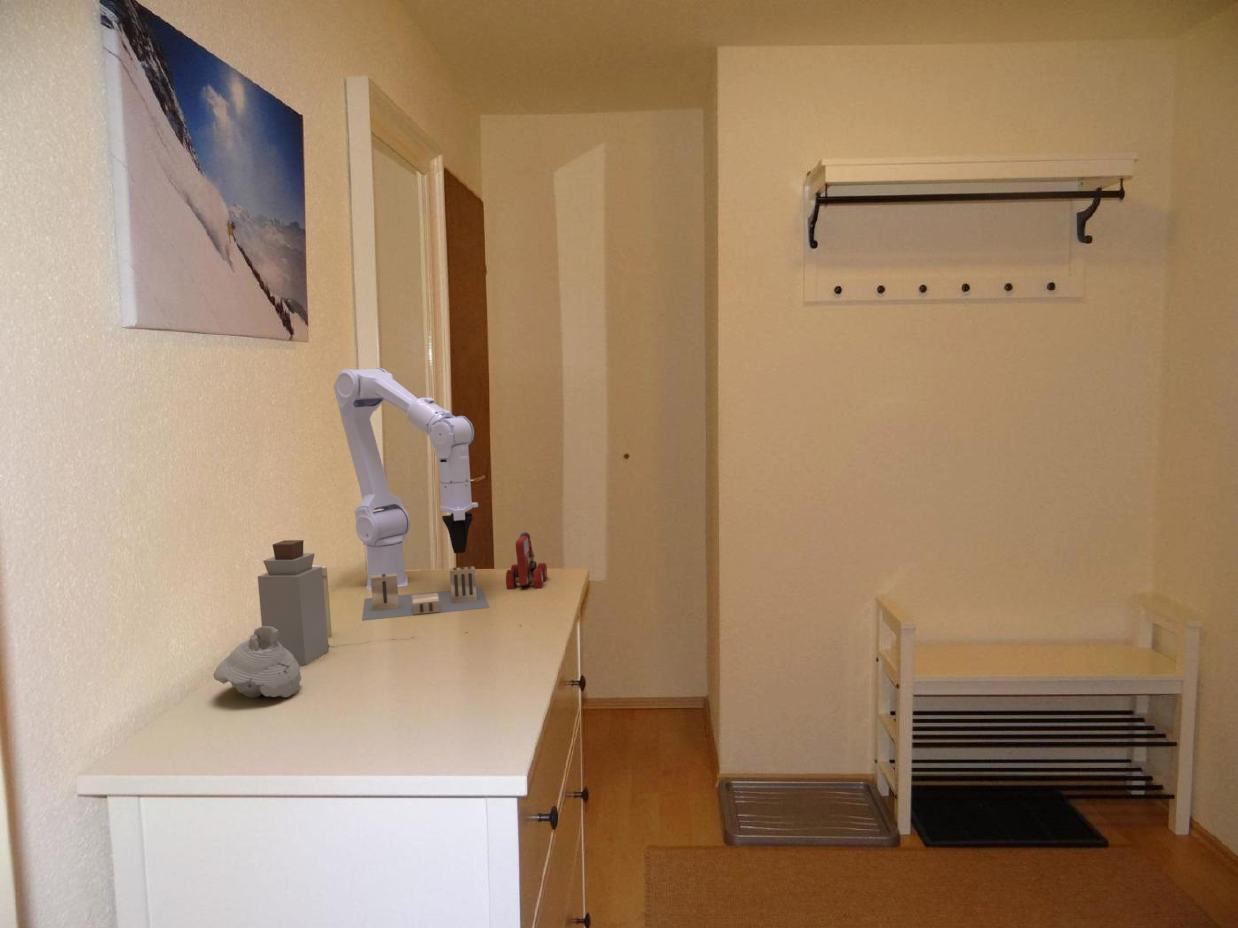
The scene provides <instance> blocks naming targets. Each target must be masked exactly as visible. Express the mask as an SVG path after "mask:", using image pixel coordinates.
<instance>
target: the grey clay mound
mask: <svg viewBox="0 0 1238 928" xmlns="http://www.w3.org/2000/svg"><path fill="white" fill-rule="evenodd" d="M278 637H279V631H278V630H277V629H275V628H274V627H270V626H263V627H262V626H259V627H257V628H255V629H254V631H253V634H251V635H250V637H249V638H248V640H246V641H243V642H241V643H240V644H239V645H238V646H236V647H235V648H234V650H233V651H232V652H231V653H230V654H229V655H228V656H227V657H226V658H224V659H223V660H222V661H221V662H220V663H219V665H218V666H217V667H216V668H215V670H214V672H213V679H214V680H215V681H217V682H218V681H219V683H222V684H223V685H225V684H226V683H228V682H230V684H231V686H233V687H234V688H236V690H237V692H238V693H240V694H242V695H243V696H245V697H247V698H250V699H251V698H253V699H255V698H258V697H260V696H261V695H263V696H265V697H271V698H276V697H282V698H289V697H291V696H294V695H295V694H297V692H298V691H299V689H300V684H301V683H300V682H301V681H302V675H301V674H302V673H301V671H300V665H299V664H298V662H297V661H296V659H295V658H294V656H293V655H292V654H291V653H290V652H289V651H288V650H287V649H285V648H284V647H283V646H282V645H281V644H280V643H279V642H278V641H277V639H278Z"/></svg>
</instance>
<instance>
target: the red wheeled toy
mask: <svg viewBox="0 0 1238 928" xmlns="http://www.w3.org/2000/svg"><path fill="white" fill-rule="evenodd" d="M515 553H516V563H515V564H512V565H511V567H510V569H507V570H506V573H505V583H506V584H505V586H506V589H507V590H513V589H515V588H516V587H517V585H518V584H519V586H522V587H525V586H526V587H527V586H530V583H533V584H532V585H533V589H542V588H543V586H544V583H545V582H547V580H548V567H547V564H546V563H545V562H539V563H538V564H537V561H535V552H534V550H533V544H532V541H531V535H530V533H528V532H526V531H525V532H522V533H520V535H519V537H518V538H517V540H516V541H515Z"/></svg>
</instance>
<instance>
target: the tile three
mask: <svg viewBox="0 0 1238 928" xmlns="http://www.w3.org/2000/svg"><path fill="white" fill-rule="evenodd" d="M449 582H450V590H451V601H452V603H457V602H467V601H477V595H476V588H477V583H476V568H475V566H470V565H469V566H465V567H464V566H460V567H452V568H449Z"/></svg>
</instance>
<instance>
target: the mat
mask: <svg viewBox="0 0 1238 928" xmlns="http://www.w3.org/2000/svg"><path fill="white" fill-rule="evenodd" d="M431 593H438V599H439V610H440V612H433V613H423V614H413V600H412V595H421V594H431ZM476 595H477V601H467V602H457V603H452V601H451V589H450V590H442V591H441V590H440V591H432V592H430V591H429V592H419V593H410V594H409V593H408V594H398V601H399V608H396V609H386V610H376V611H373V602H372V597H369V598H368V597H367V598H364V602H363V608H362V610H363V611H362V617H361V621H373V620H383V619H392V618H394V619H395V618H402V617H411V616H422V615H432V614H443V613H451V612H452V613H453V612H454V613H455V612H462V611H470V610H471V611H472V610H473V611H474V610H482V609H490V606H489V603H488V601H487V597H486V595H485V593H484V590H483V588H482V587H481V586H480V587H476Z"/></svg>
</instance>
